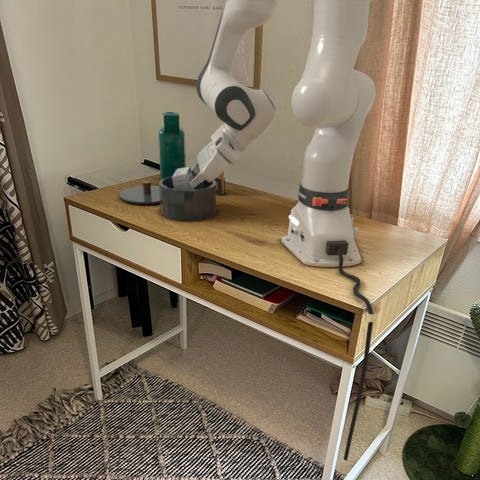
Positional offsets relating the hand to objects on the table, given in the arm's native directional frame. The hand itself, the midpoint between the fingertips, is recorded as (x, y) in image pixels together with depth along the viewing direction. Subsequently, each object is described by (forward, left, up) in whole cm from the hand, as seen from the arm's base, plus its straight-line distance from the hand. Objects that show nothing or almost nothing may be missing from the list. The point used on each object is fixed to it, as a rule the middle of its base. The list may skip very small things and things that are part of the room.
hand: (190, 180), depth 135 cm
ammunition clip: (+20, -7, -9) cm, 23 cm away
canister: (0, +1, -9) cm, 9 cm away
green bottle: (+32, +5, -9) cm, 34 cm away
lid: (+14, +13, -8) cm, 21 cm away
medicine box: (0, +1, -6) cm, 6 cm away
